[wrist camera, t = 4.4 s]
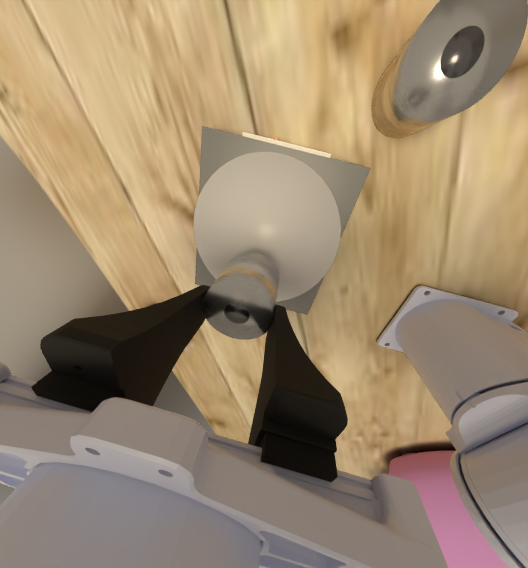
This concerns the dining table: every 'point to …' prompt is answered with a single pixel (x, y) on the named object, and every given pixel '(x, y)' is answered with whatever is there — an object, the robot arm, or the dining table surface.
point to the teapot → (446, 509)
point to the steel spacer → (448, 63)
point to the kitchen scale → (272, 209)
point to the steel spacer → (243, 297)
